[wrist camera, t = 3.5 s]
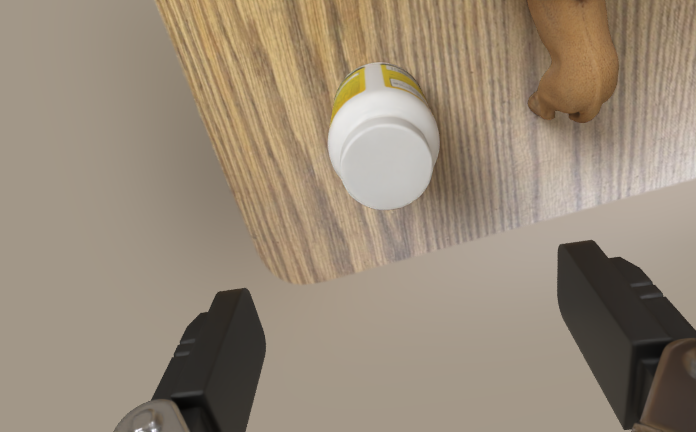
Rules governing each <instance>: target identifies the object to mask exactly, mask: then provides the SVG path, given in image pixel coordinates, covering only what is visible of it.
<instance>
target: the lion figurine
mask: <svg viewBox="0 0 696 432" xmlns="http://www.w3.org/2000/svg"><path fill="white" fill-rule="evenodd" d="M527 2H528V6H529V10H530V12H531V15H532V18H533V21H534V23H535V25H536V28H537V31H538V33H539V36H540V38H541V40H542V42H543V44H544V45H545V47H546V48H547V50H548V51H549V53H550V55H551V59H552V63H551V66H550V68H549V69H548V70H547V72H546V73H545V74H544V75H543V77H542V78H541V80H540V83H539V86H538V90H537V92H534V93H533V95H531V96H530V97H529V100H528V106H529V108H530V109H531V110H532V111H533V112H534V113H535V114H537V115H539V116H541V117H542V118H543V119H547V120H550V119H553V118H554V117H555V111H560V112H563V113H568V114H569V118H570V119H571V120H573V121H575V122H579V123H586V122H588V121H590V120H592V119H593V118H594V117H595V116H596V115H597V114H598V112H599V111H600V108H601V106H602V104H603V103H604V102H606V101H607V100H608V99H609V98H610V97H611V95H612V94H613V92H614V91H615V88H616V85H617V78H618V70H619V63H618V56H617V52H616V50H615V48H614V46H613V43H612V39H611V36H610V32H609V27H608V20H607V10H606V3H605V0H527Z"/></svg>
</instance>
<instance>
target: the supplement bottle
mask: <svg viewBox="0 0 696 432" xmlns="http://www.w3.org/2000/svg"><path fill="white" fill-rule="evenodd" d="M439 147H440V138H439V131H438V127H437V123H436V121H435V118H434V116H433V114H432V112H431V110H430V107H429V105H428V103H427V101H426V99H425V97H424V95H423V93H422V91H421V88H420V86H419V85H418V83H417V82H416V80H415V79H414V78H413V77H412V76H411V75H410V74H409V73H408V72H407V71H405V70H404V69H402V68H400V67H398V66H396V65H394V64H390V63H383V62H376V63H370V64H366V65H363V66H361V67H359V68H357V69H355V70H354V71H352V72H351V73H350V74H349V75H348V76H347V77H346V78H345V79H344V80H343V81H342V83H341V84H340V86H339V88H338V90H337V93H336V95H335V99H334V104H333V111H332V117H331V123H330V128H329V134H328V151H329V156H330V160H331V163H332V165H333V168H334V170H335V171H336V173H337V174H338V176H339V177H340V178H341V179H342V182H343V184H344V186H345V188H346V190H347V191H348V193H349V194H350V195H351V196H352V197H353V198H354V199H355V200H356V201H358V202H359V203H361V204H363V205H364V206H367V207H369V208H373V209H377V210H394V209H399V208H402V207H404V206H407V205H409V204H410V203H412V202H414V201H415V200H416V199H417V198H419V197H420V196H421V195H422V194H423V192H424V191H425V190H426V188H427V186H428V184H429V183H430V180H431V177H432V173H433V167H434V165H435V163H436V160H437V157H438V153H439Z"/></svg>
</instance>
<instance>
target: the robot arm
mask: <svg viewBox="0 0 696 432" xmlns="http://www.w3.org/2000/svg"><path fill="white" fill-rule="evenodd" d="M557 280H558V281H557V296H558V304H559V308H560V312H561V315H562V317H563V319H564V321H565V323H566V325H567V327H568V329H569V331H570V332H571V334H572V336H573V338H574V340H575V342H576V343H577V345H578V347H579V349H580V351H581V352H582V354H583V356H584V358H585V360H586V361H587V363H588V365H589V367H590V369H591V371H592V372H593V374H594V376H595V378H596V380H597V382H598V383H599V385H600V387H601V389H602V390H603V392H604V394H605V396H606V398H607V400H608V402H609V403H610V405H611V407H612V409H613V411H614V413H615V414H616V416H617V418H618V420H619V422H620V423H621V425H622V427H623V429H624V430H629V429H632V431H631V432H696V330H695V329H694V328H693V327H692V326H691V325H690V324H689V322H687V320H686V319H685V318H684V317H683V316H682V315H681V313H680V312H679V311H678V310H677V309H676V308H675V307H674V306H673V304H672V303H671V302H670V301H669V300H668V299H667V298H666V297H663V293H662V292H661V291H660V290H659V289H658V288H657V287H656V286H655V285H653V283H652V281H651V280H650V279H649V278H648V276H647V275H646V274H645V273H644V272H643V271H642V270H641V269H640V268H639V267H637V266H635V265H634V264H632V263H630V262H628V261H626V260H625V259H623V258H621V257H614V258H608V257H607V256H606V255H605V253H604V252H603V251H602V250H601V249H600V247H599V246H598V245H597V244H596V243H595V241H593V240H588V241H581V242H573V243H566V244H560V245H559V248H558V277H557ZM265 352H266V342H265V335H264V331H263V328H262V325H261V323H260V320H259V317H258V314H257V311H256V308H255V305H254V303H253V300H252V297H251V294H250V292H249V290H248V289H246V288H242V289H234V290H227V291H220V292H218V293H217V294H216V296H215V298H214V300H213V302H212V305H211V307H210V309H209V311H208V312H205V313H200V314H199V315H198V316H197V317H196V318H195V319H194V320H193V321H192V322H191V323H190V324H189V326H188V327H187V328H186V330H185V332H184V334H183V336H182V338H181V340H180V345H178V346H177V348H176V351H175V353H174V357H172V359H171V361H170V363H169V365H168V367H167V369H166V371H165V373H164V375H163V377H162V379H161V381H160V383H159V385H158V387H157V389H156V391H155V393H154V395H153V397H152V399H151V401H148V402H146V403H143V404H141V405H140V406H138V407H136V408H135V409H133V410H132V411H130V412H129V413H128V414H127V415H126V416H125V417H124V418H123V419H122V420H121V421H120V422H119V423H118V425H117V427H116V428H115V430H114V432H245V431H246V427H247V424H248V420H249V416H250V412H251V408H252V404H253V400H254V396H255V393H256V389H257V384H258V381H259V377H260V373H261V369H262V365H263V362H264V358H265Z"/></svg>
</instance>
